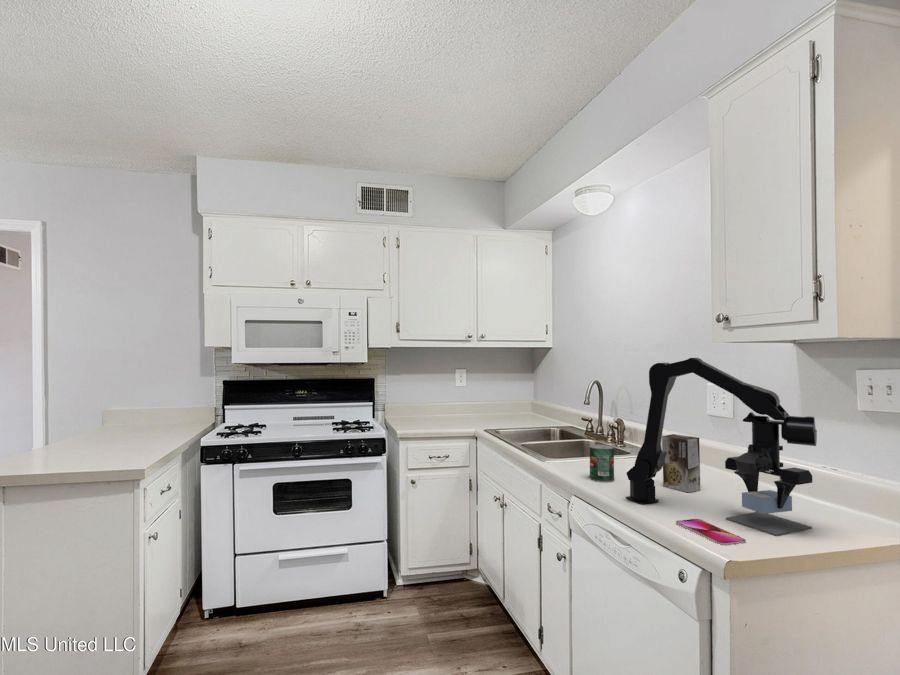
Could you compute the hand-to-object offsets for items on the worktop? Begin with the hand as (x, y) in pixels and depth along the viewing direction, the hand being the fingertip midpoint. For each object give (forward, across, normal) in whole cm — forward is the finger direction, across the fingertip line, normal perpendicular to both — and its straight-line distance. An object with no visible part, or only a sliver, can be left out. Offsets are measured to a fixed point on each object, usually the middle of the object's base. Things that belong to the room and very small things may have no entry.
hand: (766, 504), depth 125 cm
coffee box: (+5, -32, +8) cm, 34 cm away
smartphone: (+5, -1, -18) cm, 19 cm away
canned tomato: (+5, -51, -7) cm, 52 cm away
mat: (+5, 0, 0) cm, 5 cm away
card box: (+1, 0, 0) cm, 1 cm away
